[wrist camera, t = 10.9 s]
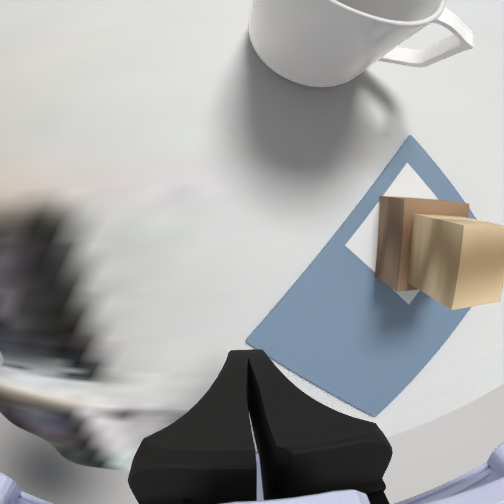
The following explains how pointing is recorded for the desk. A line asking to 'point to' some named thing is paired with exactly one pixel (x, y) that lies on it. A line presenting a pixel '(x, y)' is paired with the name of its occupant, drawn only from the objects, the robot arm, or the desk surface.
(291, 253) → the desk surface
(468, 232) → the maple block
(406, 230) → the walnut base
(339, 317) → the mat
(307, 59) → the mug
